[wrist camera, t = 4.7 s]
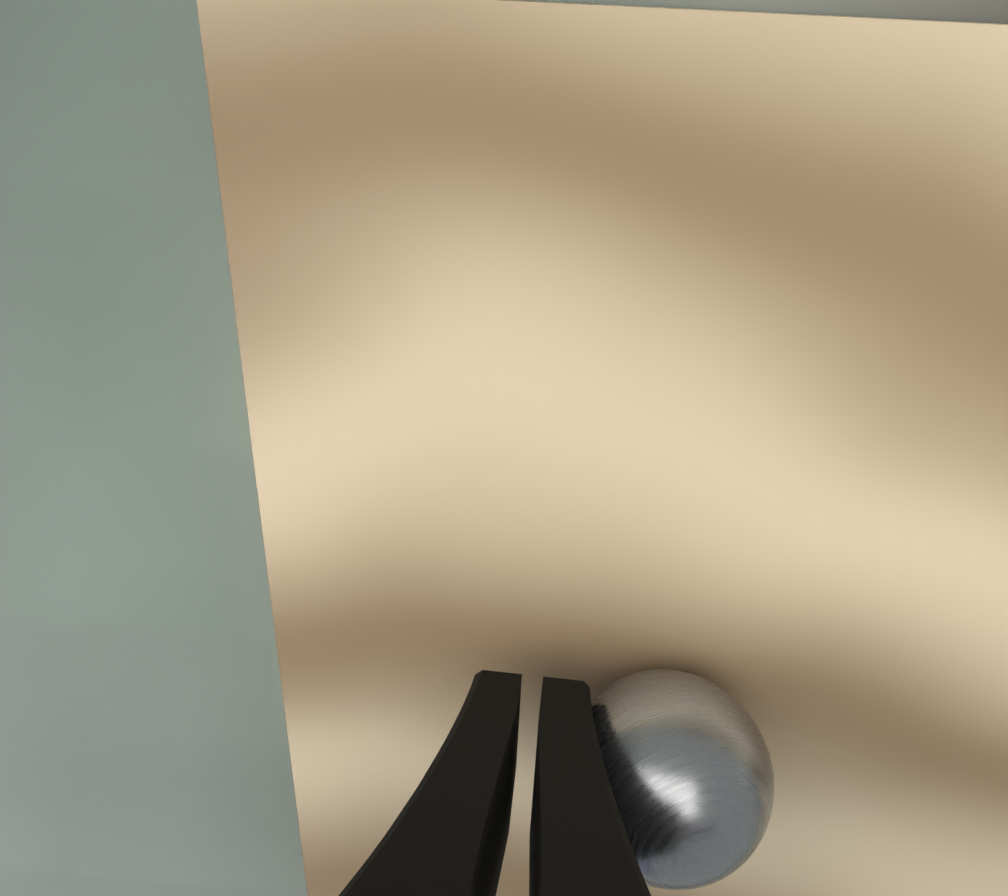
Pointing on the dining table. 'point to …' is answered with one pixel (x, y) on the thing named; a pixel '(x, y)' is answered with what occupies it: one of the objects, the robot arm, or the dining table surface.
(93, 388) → the dining table surface
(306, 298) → the birch board
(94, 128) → the dining table surface
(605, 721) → the steel ball
